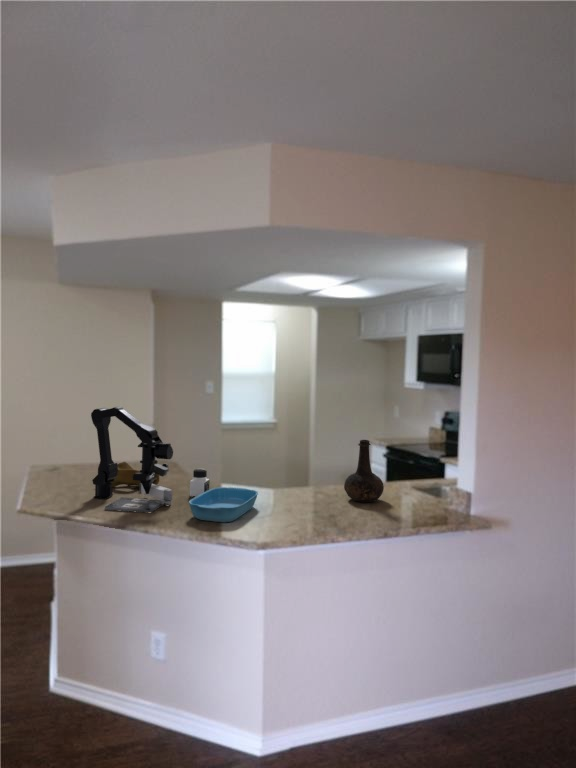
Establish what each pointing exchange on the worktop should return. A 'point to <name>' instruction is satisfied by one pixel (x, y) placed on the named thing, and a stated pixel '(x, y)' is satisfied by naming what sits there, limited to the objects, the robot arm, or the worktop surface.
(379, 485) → the glass bottle
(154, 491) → the swing arm
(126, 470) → the brown looped sculpture
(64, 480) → the worktop surface
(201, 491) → the medicine bottle
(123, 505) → the label board
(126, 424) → the robot arm
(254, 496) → the casserole dish
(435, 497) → the worktop surface
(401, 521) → the worktop surface
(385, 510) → the worktop surface
